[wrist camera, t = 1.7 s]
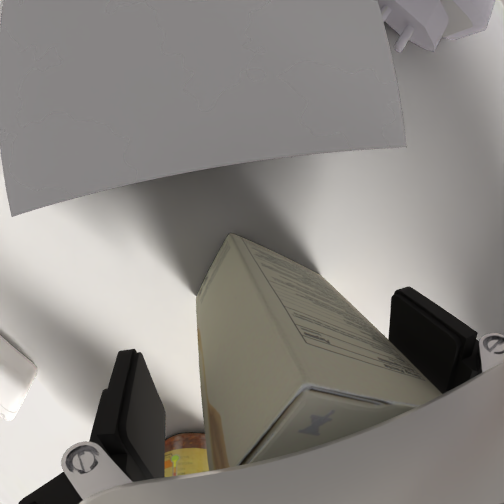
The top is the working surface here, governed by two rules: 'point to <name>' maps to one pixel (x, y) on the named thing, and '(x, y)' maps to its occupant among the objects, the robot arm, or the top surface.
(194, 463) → the sauce bottle
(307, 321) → the skincare box
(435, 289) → the top surface
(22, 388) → the soap
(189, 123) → the pan
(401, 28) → the charger
